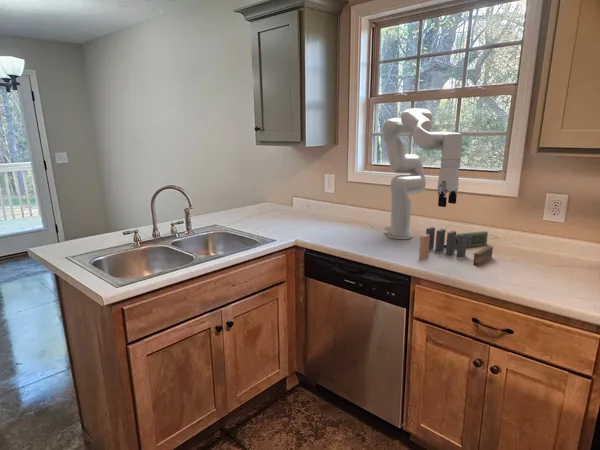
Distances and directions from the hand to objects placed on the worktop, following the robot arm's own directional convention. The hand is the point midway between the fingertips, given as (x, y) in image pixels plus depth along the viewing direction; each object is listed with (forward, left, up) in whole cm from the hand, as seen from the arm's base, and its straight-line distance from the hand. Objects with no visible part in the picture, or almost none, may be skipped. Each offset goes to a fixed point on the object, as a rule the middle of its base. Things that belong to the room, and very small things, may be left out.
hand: (447, 204), depth 164 cm
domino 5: (+5, +7, -23) cm, 25 cm away
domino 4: (0, +7, -23) cm, 24 cm away
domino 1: (-6, -6, -23) cm, 25 cm away
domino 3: (-5, +7, -23) cm, 25 cm away
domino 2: (-10, +7, -23) cm, 26 cm away
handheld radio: (-1, +22, -24) cm, 32 cm away
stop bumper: (+14, +7, -23) cm, 28 cm away
